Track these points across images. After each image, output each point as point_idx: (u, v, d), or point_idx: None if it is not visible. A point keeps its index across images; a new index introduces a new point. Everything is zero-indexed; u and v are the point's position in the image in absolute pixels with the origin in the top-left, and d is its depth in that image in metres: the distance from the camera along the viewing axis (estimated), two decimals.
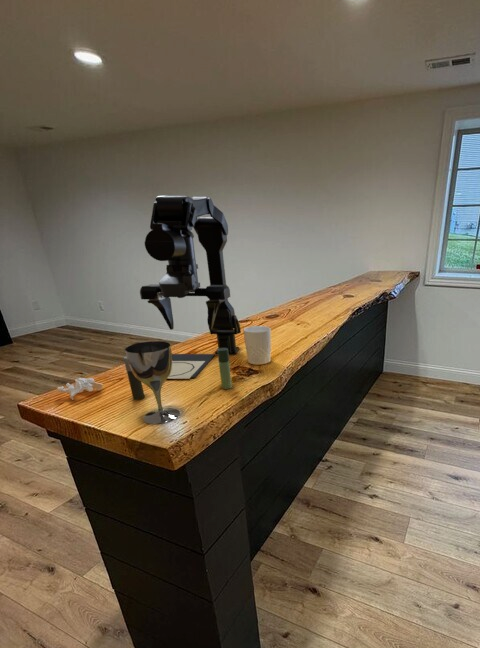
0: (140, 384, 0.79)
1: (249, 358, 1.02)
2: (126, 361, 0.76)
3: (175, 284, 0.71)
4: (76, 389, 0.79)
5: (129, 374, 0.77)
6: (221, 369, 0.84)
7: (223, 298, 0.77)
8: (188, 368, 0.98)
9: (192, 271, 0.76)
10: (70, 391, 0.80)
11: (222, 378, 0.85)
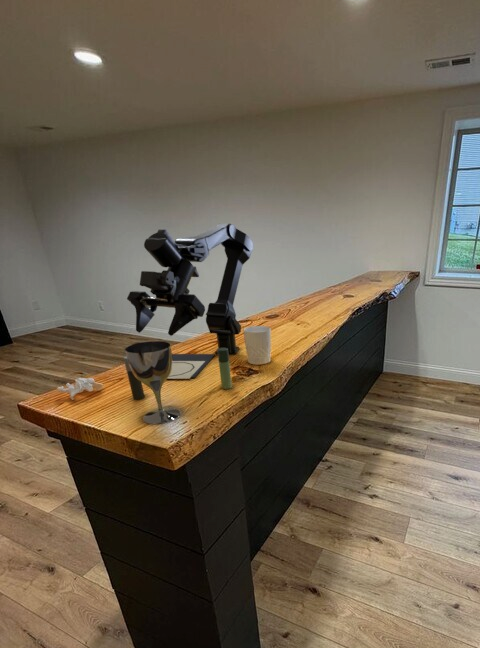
0: (140, 384, 0.79)
1: (249, 358, 1.02)
2: (126, 361, 0.76)
3: (152, 272, 0.78)
4: (76, 389, 0.79)
5: (129, 374, 0.77)
6: (221, 369, 0.84)
7: (190, 301, 0.80)
8: (188, 368, 0.98)
9: (178, 284, 0.85)
10: (70, 391, 0.80)
11: (222, 378, 0.85)
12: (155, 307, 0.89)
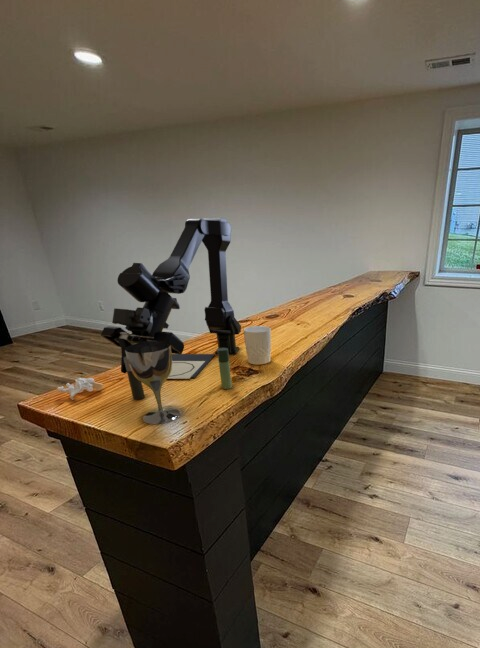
0: (140, 384, 0.79)
1: (249, 358, 1.02)
2: (126, 361, 0.76)
3: (125, 309, 0.73)
4: (76, 389, 0.79)
5: (129, 374, 0.77)
6: (221, 369, 0.84)
7: (167, 340, 0.75)
8: (188, 368, 0.98)
9: (156, 320, 0.80)
10: (70, 391, 0.80)
11: (222, 378, 0.85)
12: None
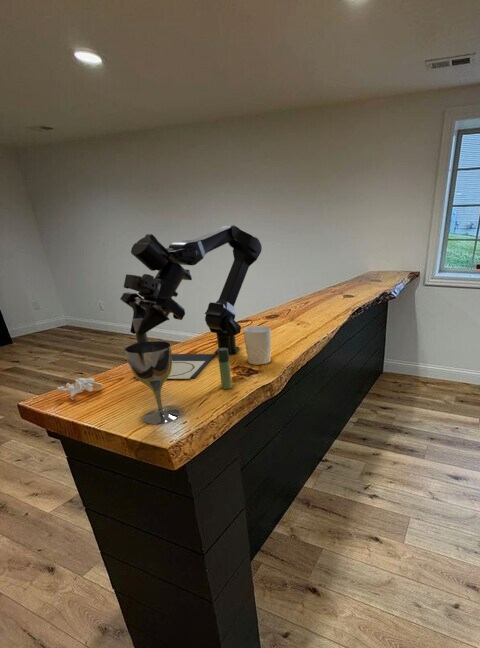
0: None
1: (249, 358, 1.02)
2: (134, 322, 0.85)
3: (133, 275, 0.82)
4: (76, 389, 0.79)
5: (136, 334, 0.86)
6: (221, 369, 0.84)
7: (165, 305, 0.82)
8: (188, 368, 0.98)
9: (163, 287, 0.88)
10: (70, 391, 0.80)
11: (222, 378, 0.85)
12: None
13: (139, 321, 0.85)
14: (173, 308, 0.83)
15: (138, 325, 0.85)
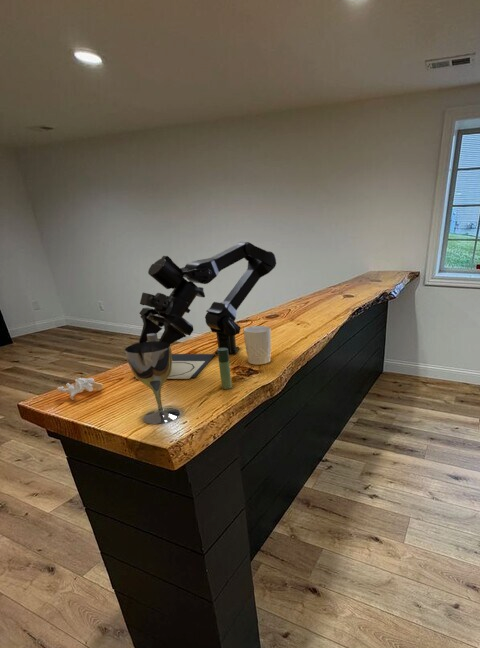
0: None
1: (249, 358, 1.02)
2: (147, 337, 0.93)
3: (148, 294, 0.89)
4: (76, 389, 0.79)
5: None
6: (221, 369, 0.84)
7: (174, 322, 0.88)
8: (188, 368, 0.98)
9: (176, 305, 0.94)
10: (70, 391, 0.80)
11: (222, 378, 0.85)
12: (164, 322, 1.01)
13: (152, 336, 0.92)
14: (181, 325, 0.89)
15: (151, 340, 0.93)
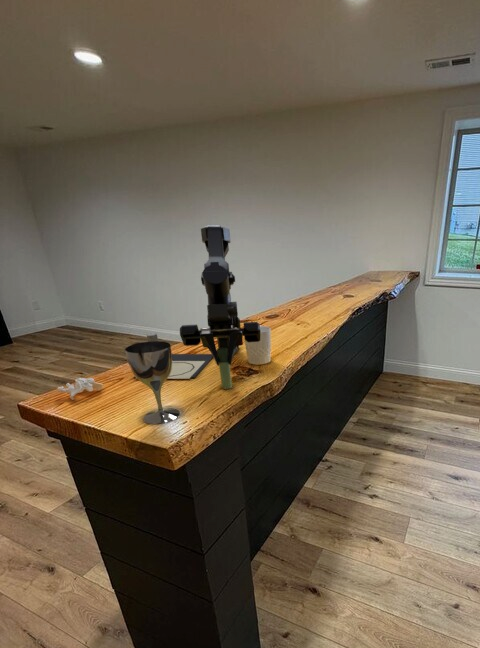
0: None
1: (249, 358, 1.02)
2: (147, 337, 0.93)
3: (223, 304, 0.80)
4: (76, 389, 0.79)
5: None
6: (221, 369, 0.84)
7: (259, 329, 0.85)
8: (188, 368, 0.98)
9: None
10: (70, 391, 0.80)
11: (222, 378, 0.85)
12: (200, 339, 0.87)
13: (152, 336, 0.92)
14: None
15: (151, 340, 0.93)
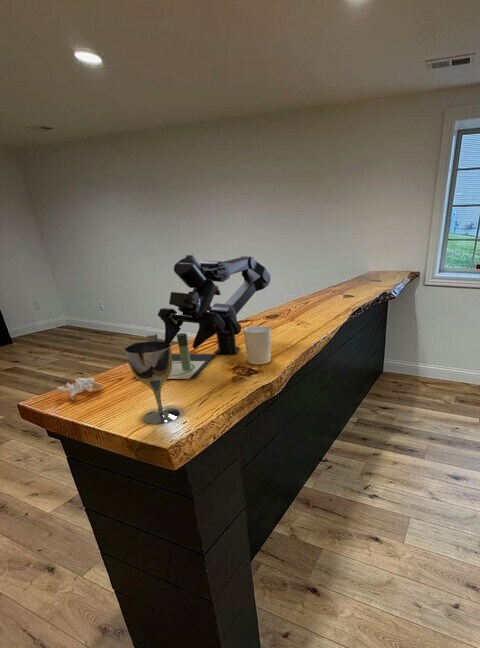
0: None
1: (249, 358, 1.02)
2: (147, 337, 0.93)
3: (180, 293, 0.89)
4: (76, 389, 0.79)
5: None
6: None
7: (212, 319, 0.91)
8: None
9: (202, 303, 0.96)
10: (70, 391, 0.80)
11: (181, 360, 0.96)
12: (181, 322, 1.00)
13: (152, 336, 0.92)
14: (218, 321, 0.93)
15: (151, 340, 0.93)
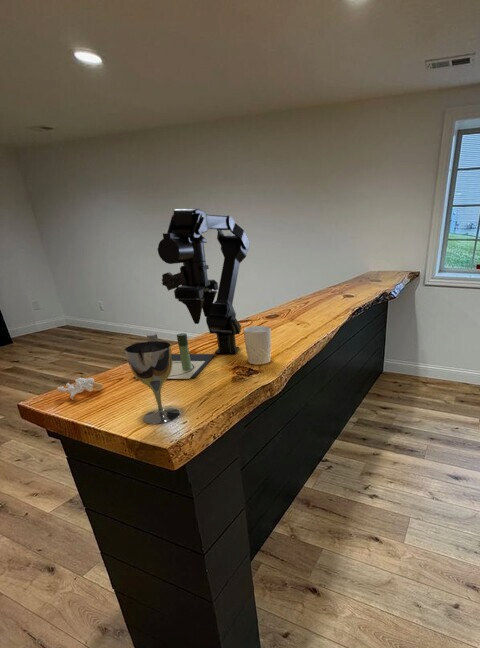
0: None
1: (249, 358, 1.02)
2: (147, 337, 0.93)
3: None
4: (76, 389, 0.79)
5: None
6: None
7: (175, 297, 0.87)
8: None
9: (187, 271, 0.91)
10: (70, 391, 0.80)
11: (181, 360, 0.96)
12: (213, 285, 1.00)
13: (152, 336, 0.92)
14: (183, 295, 0.86)
15: (151, 340, 0.93)
